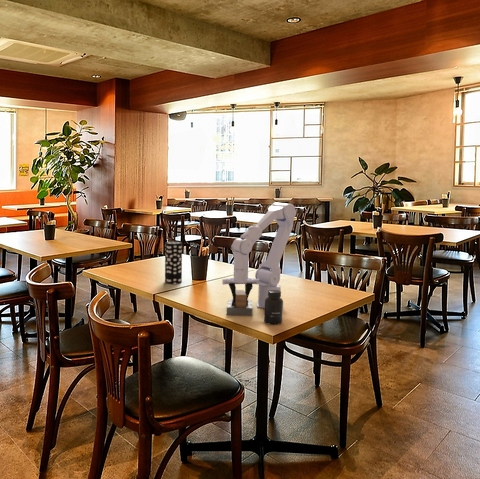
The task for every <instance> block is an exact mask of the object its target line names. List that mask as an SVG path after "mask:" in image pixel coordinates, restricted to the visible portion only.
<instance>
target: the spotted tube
mask: <svg viewBox="0 0 480 479" xmlns="http://www.w3.org/2000/svg"><path fill="white" fill-rule="evenodd" d="M164 243H165V244H164V283H165V284H168V285H177V284H181V283H182V278H183V267H182V266H183V242H181V241H166V242H164Z"/></svg>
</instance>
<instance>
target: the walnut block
mask: <svg viewBox="0 0 480 479" xmlns="http://www.w3.org/2000/svg"><path fill="white" fill-rule="evenodd" d="M235 299H236V301H235V302H234V306H235V307H246V300H248V299H247V295H246V293H245V289H236V292H235Z"/></svg>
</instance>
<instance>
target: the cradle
mask: <svg viewBox="0 0 480 479" xmlns="http://www.w3.org/2000/svg"><path fill="white" fill-rule="evenodd" d="M226 316H244V317H245V316H246V317H247V316H248V317H253V299H247V302H246V307H235V306H234V302H233V298H228V300H227V303H226Z"/></svg>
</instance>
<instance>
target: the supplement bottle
mask: <svg viewBox="0 0 480 479" xmlns="http://www.w3.org/2000/svg"><path fill="white" fill-rule="evenodd" d="M283 307H284V299H283V298H282V290H281V291H279V290H269V291H268V297H267V298H266V299H265V308H264V310H263V312H264V313H263V314H264V315H263V321H264V323H265V324H268V325H274V326H276V325H281V324H282V322H283V315H284V314H283V313H284V312H283V311H284V310H283V309H284V308H283Z"/></svg>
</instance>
